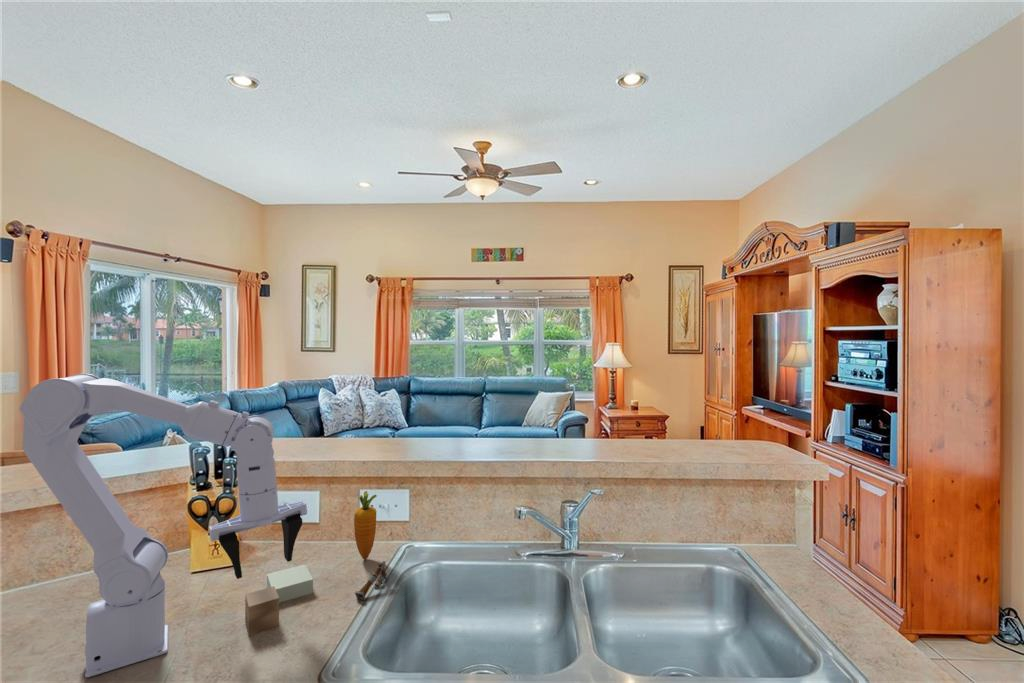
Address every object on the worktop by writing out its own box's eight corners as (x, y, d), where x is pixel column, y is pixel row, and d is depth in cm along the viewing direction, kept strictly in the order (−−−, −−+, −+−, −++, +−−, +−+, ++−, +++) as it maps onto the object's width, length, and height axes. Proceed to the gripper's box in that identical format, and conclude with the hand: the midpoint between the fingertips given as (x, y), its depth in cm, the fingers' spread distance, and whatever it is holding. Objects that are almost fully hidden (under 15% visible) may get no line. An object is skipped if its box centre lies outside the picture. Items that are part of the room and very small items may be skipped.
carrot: (359, 553, 106) (360, 487, 106) (380, 555, 106) (381, 488, 105) (349, 564, 101) (349, 494, 101) (370, 565, 101) (371, 496, 100)
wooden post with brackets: (393, 575, 95) (387, 559, 93) (368, 610, 89) (361, 593, 87) (385, 573, 96) (380, 557, 94) (360, 608, 89) (354, 591, 87)
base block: (272, 606, 86) (272, 590, 86) (266, 589, 92) (266, 574, 92) (313, 594, 90) (313, 579, 90) (305, 578, 96) (305, 564, 96)
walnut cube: (248, 637, 77) (248, 606, 77) (245, 623, 80) (245, 594, 80) (278, 627, 79) (279, 597, 79) (274, 614, 83) (274, 586, 83)
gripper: (210, 507, 72) (217, 594, 72) (309, 483, 81) (315, 560, 82) (205, 496, 77) (211, 576, 78) (298, 474, 86) (303, 546, 87)
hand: (264, 567), depth 80 cm, fingers open, 7 cm apart
